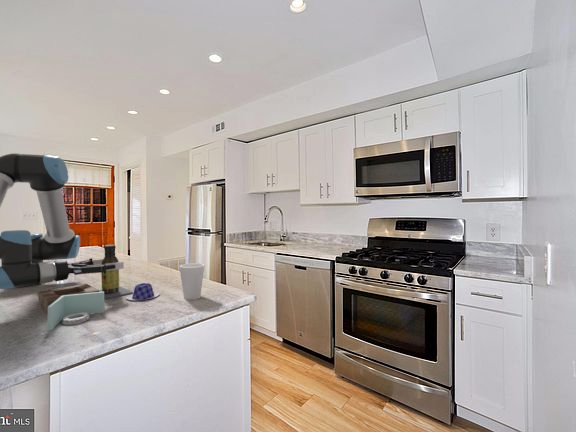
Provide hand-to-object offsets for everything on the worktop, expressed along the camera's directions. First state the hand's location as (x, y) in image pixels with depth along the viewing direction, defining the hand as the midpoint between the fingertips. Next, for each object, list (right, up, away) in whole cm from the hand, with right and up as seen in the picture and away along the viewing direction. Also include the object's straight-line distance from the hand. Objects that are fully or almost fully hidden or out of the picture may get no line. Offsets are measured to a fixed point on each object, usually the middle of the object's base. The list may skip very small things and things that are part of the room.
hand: (116, 262), depth 121 cm
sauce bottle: (-2, -12, -2) cm, 12 cm away
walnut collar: (-9, -13, -15) cm, 22 cm away
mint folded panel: (+6, -14, -30) cm, 34 cm away
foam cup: (+35, -13, -6) cm, 37 cm away
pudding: (+14, -13, -6) cm, 20 cm away
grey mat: (-2, -13, -2) cm, 13 cm away
